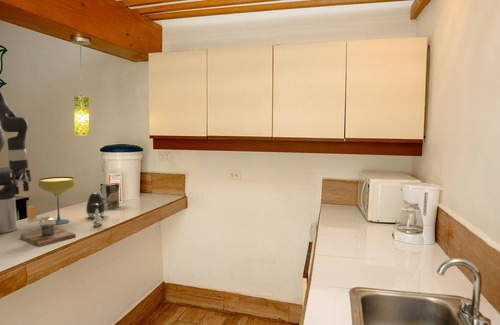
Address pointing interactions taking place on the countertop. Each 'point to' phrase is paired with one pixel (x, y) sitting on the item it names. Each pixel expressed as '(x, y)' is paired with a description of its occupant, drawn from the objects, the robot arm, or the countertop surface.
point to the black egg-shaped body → (92, 199)
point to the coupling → (40, 218)
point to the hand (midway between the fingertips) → (21, 192)
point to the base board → (47, 236)
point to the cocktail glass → (57, 189)
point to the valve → (97, 215)
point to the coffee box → (110, 196)
